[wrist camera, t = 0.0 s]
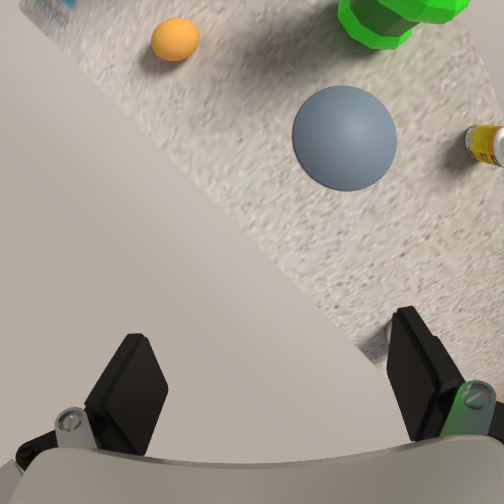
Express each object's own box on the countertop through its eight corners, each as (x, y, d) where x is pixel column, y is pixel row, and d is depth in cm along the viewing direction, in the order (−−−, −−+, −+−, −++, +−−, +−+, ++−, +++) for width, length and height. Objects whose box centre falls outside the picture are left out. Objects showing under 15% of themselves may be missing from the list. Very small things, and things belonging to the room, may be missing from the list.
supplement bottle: (460, 153, 35) (502, 162, 26) (467, 118, 33) (510, 120, 24) (485, 166, 35) (527, 178, 26) (492, 133, 33) (534, 139, 24)
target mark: (329, 65, 33) (329, 65, 33) (413, 129, 35) (414, 129, 35) (272, 152, 38) (272, 152, 38) (359, 210, 40) (360, 210, 40)
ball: (175, 20, 31) (161, 5, 26) (212, 35, 32) (202, 20, 27) (153, 56, 34) (134, 46, 28) (188, 72, 34) (174, 62, 29)
